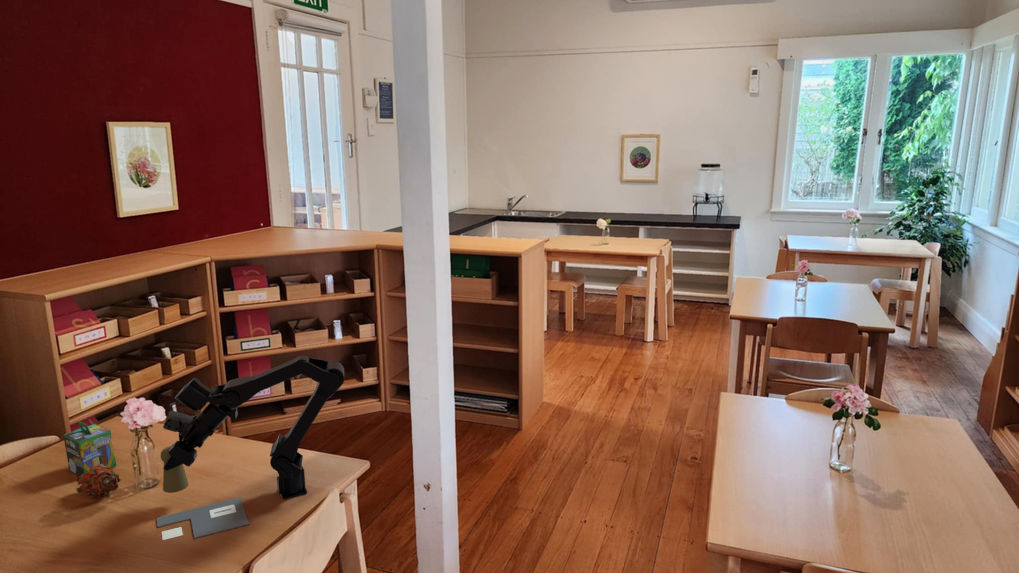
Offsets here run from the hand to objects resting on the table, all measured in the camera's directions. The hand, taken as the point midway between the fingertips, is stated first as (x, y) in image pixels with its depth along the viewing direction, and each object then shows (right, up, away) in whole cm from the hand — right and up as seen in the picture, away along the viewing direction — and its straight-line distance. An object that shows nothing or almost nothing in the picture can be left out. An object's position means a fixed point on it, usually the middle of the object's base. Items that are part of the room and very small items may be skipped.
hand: (167, 464), depth 174 cm
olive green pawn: (+1, -6, +2) cm, 7 cm away
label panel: (+11, -13, -5) cm, 18 cm away
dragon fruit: (-22, -10, +8) cm, 26 cm away
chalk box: (-33, -7, +21) cm, 40 cm away
